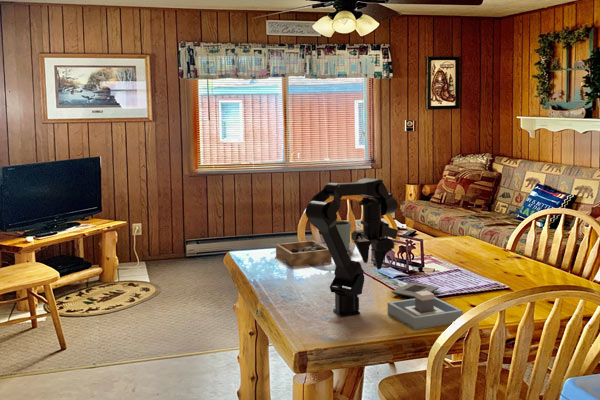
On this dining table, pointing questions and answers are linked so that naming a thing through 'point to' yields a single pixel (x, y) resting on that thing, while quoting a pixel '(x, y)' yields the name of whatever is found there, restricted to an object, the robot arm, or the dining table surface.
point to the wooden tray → (302, 253)
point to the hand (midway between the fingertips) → (372, 266)
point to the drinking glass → (344, 232)
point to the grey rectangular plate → (413, 289)
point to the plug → (424, 301)
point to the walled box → (423, 314)
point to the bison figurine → (308, 249)
